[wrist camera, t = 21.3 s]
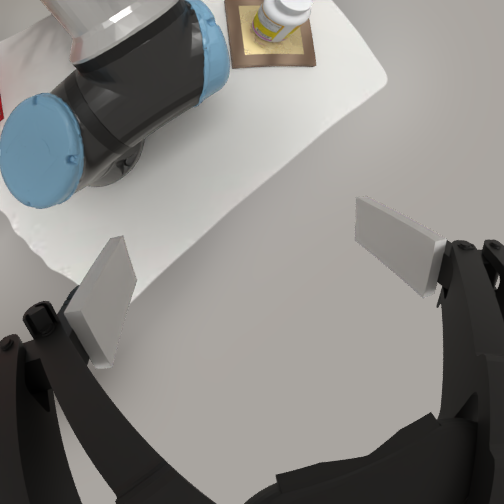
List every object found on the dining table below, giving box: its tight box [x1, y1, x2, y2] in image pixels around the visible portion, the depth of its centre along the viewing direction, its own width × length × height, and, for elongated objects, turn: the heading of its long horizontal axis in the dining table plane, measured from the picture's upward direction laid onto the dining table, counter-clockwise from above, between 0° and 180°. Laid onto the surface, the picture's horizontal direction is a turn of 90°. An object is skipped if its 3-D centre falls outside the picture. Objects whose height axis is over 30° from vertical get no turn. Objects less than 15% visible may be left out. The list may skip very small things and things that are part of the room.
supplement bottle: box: [252, 0, 313, 42], centre depth 28 cm, size 7×7×13 cm
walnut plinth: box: [224, 0, 316, 69], centre depth 34 cm, size 14×14×2 cm
